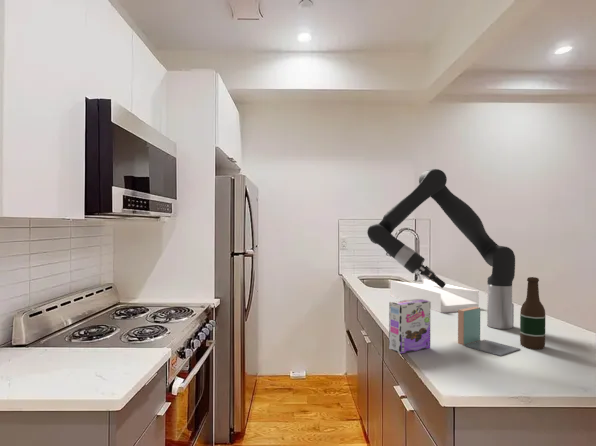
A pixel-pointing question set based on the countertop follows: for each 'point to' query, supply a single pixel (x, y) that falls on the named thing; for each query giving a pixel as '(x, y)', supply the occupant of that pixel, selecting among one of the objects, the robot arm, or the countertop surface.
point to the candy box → (409, 325)
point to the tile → (468, 325)
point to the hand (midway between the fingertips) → (443, 285)
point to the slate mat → (492, 347)
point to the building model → (436, 295)
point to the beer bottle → (532, 318)
